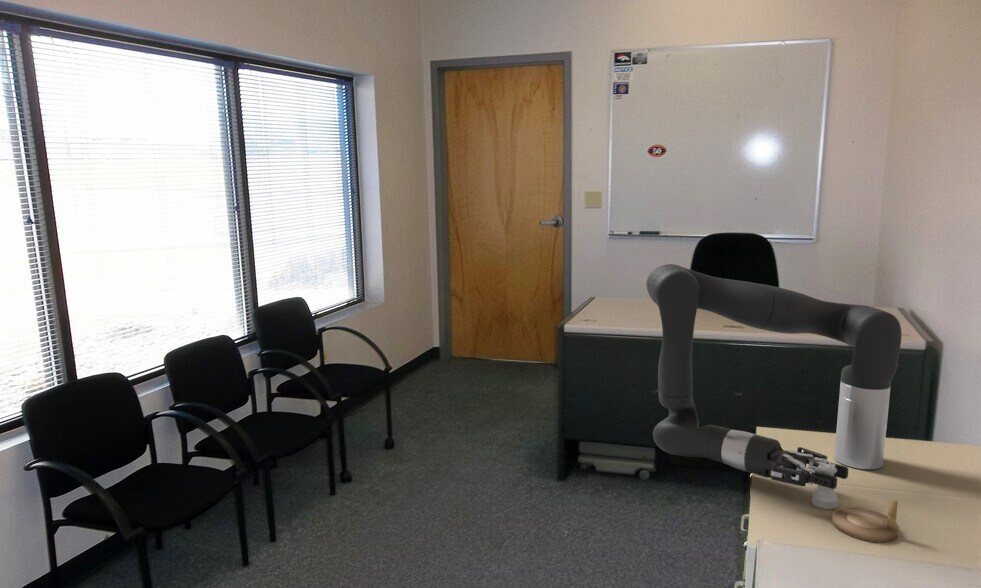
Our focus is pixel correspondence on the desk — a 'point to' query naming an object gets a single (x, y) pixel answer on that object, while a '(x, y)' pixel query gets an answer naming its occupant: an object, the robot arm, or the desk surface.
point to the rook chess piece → (825, 489)
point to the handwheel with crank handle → (867, 523)
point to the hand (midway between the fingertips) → (841, 478)
